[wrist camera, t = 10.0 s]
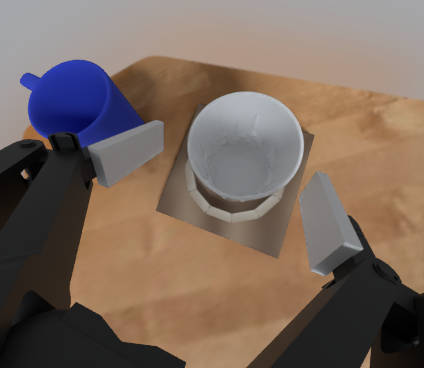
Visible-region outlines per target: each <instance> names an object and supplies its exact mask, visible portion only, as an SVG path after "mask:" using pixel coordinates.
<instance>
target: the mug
mask: <svg viewBox="0 0 424 368" xmlns="http://www.w3.org/2000/svg"><path fill="white" fill-rule="evenodd" d="M20 83H21V84H22V85H23V86H25V87H26V88H28V89H29V90H31V91H32V93H31V95H30V98H29V103H28V114H29V119H30V122H31V124H32V126H33V127H34V129H35V130H36V131H37V132H38V133H39V134H40V135H42V136H43V137H45V138H47V139H48V137H47V136H49V135H50V134H53V133H58V132H71V133H75V134H76V135H78V139H79V142H80V145H81V148H83V147H85V146H88V145H91V144H93V143H96V142H99V141H101V140H104V139H106V138H109V137H113V136H115V135H118V134H121V133H123V132H126V131H128V130H131V129H134V128H136V127H139V126H141V125H144V124H145V123H144V122H143V120H142V119H141V118H140V116H139V115H138V114H137V113H136V111H135V110H134V109H133V107H132V106H131V105H130V103H129V102H128V101H127V99H126V98H125V97H124V96H123V94H122V93H121V92H120V90H119V89H118V88H117V86H116V85H115V84H114V83H113V81H112V80H111V79H110V77H109V76H108V75H107V73H106V72H105V71H104V70H103V69H102V68H100V67H99V66H98V65H96V64H94V63H92V62H89V61H85V60H72V61H67V62H63V63H61V64H59V65H57V66H55V67H53V68H52V69H50V70H49V71H47V72H46V73H45V74H44V75H43V76H42V77H41V78H39V77H37V76H35V75H33V74H31V73H25V74H24V75H23V76H22V78H21V79H20Z"/></svg>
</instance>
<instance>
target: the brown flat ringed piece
mask: <svg viewBox="0 0 424 368" xmlns="http://www.w3.org/2000/svg"><path fill="white" fill-rule="evenodd" d="M205 107H206V105H203V104H199V105H198V108H197V110H196V112H195V115H194V117H193V120H192V122H191V125H190V127H189V130H188V132H187V135H186V137H185V140H184V142H183V145H182V147H181V150H180V152H179V154H178V157H177V159H176V162H175V164H174V167H173V169H172V172H171V174H170V177H169V179H168V182H167V184H166V187H165V189H164V192H163V194H162V196H161V199H160V201H159V204H158V206H157V209H156V211H158V212H161V213H164V214H166V215H169V216H171V217H174V218H176V219H179V220H181V221H184V222H186V223H189V224H191V225H194V226H196V227H199V228H202V229H204V230H207V231H209V232H212V233H214V234H217V235H219V236H222V237H224V238H227V239H229V240H232V241H234V242H237V243H240V244H242V245H245V246H247V247H250V248H252V249H255V250H257V251H260V252H262V253H265V254H267V255H270V256H272V257H275V258H277V259H278V256H279V253H280V250H281V246H282V243H283V240H284V236H285V233H286V230H287V226H288V223H289V219H290V216H291V213H292V209H293V206H294V203H295V199H296V196H297V193H298V189H299V186H300V182H301V179H302V176H303V172H304V169H305V166H306V162H307V159H308V156H309V152H310V149H311V145H312V142H313V139H314V135H313V134H309V133H305V132H302V134H303V139H304V152H303V157H302V161H301V164H300V166H299V168H298V170H297V172H296V173H295V175H294V176H293V178H292V179H291V180H290V181H289V182H288V183H287V184H286V185H285V186H284V187H283V188H281V189H280V190H278V191H277V192H275V193H273V194H271V195H269V196H266V197H263V198H260V199H255V200H249V201H231V200H227V199H224V198H222V197H220V196H219V195H217V194H216V193H214V192H213V191H212V190H210V189H209V188H208V187H207V186H205V185H204V184H203V183H202V182H201V181H200V179H199V178H198V177H197V175H196V174H195V172H194V171H193V169H192V166H191V164H190V161H189V157H188V150H187V143H188V136H189V132H190V129H191V126H192V124H193V122H194V120H195V118H196V117H197V116H198V114H199V113H200V112H201V111H202V110H203V109H204V108H205Z"/></svg>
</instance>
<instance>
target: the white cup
mask: <svg viewBox="0 0 424 368" xmlns="http://www.w3.org/2000/svg"><path fill="white" fill-rule="evenodd" d="M187 150H188V157H189V161H190V164H191V166H192V169H193V171H194V172H195V174H196V175H197V177H198V178H199V179H200V181H201V182H202V183H203V184H204V185H205V186H207V187H208V188H209V189H210V190H212V191H213V192H214V193H216V194H217V195H219V196H220V197H222V198H224V199H227V200H231V201H249V200H255V199H260V198H263V197H266V196H269V195H271V194H273V193H275V192H277V191H278V190H280V189H281V188H283V187H284V186H285V185H286V184H287V183H288V182H289V181H290V180H291V179H292V178H293V176H294V175H295V173H296V172H297V170H298V168H299V166H300V164H301V161H302V157H303V152H304V139H303V134H302V130H301V127H300V125H299V123H298V121H297V119H296V117H295V116H294V114H293V113H292V112H291V111H290V110H289V109H288V108H287V107H286V106H285V105H284V104H283V103H281V102H280V101H278V100H277V99H275V98H273V97H271V96H268V95H265V94H262V93H258V92H250V91H243V92H234V93H230V94H227V95H224V96H221V97H219V98H217V99H215V100H214V101H212V102H211V103H209V104H208V105H207V106H206V107H205V108H204V109H203V110H202V111H201V112H200V113H199V114H198V116H197V117H196V118H195V120H194V122H193V124H192V126H191V129H190V132H189V136H188V143H187Z"/></svg>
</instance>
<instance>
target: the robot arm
mask: <svg viewBox="0 0 424 368" xmlns="http://www.w3.org/2000/svg"><path fill="white" fill-rule="evenodd" d="M47 137H48V139H49V142H50V144H51V146H52V148H53V150H51V149H46V147H45V145H44V143H43V142H42V141H40V140H32V139H25V140H22V141H18V142H15V143H13V144H11V145H9V146H7V147H5V148H4V149H2V150H0V368H185V365H186V362H185V361H183V360H181V359H179V358H177V357H175V356H174V355H172V354H170V353H168V352H166V351H164V350H163V349H161V348H159V347H157V346H151V345H143V344H135V343H127V342H122V341H121V340H120V339H119V338H118V337H117V335H116V334H115V333H114V332H113V330H112V329H111V328H110V327H109V325H108V324H107V323H106V322H105V320H104V319H103V318H102V316H101V315H99V314H97V313H95V312H93V311H92V310H90V309H88V308H86V307H84V306H83V305H81V304H79V303H77V302H76V303H75V304H74V305H73V306H72V307H71V308H70V304H71V296H70V281H71V277H72V272H73V268H74V264H75V259H76V255H77V251H78V247H79V242H80V238H81V234H82V229H83V225H84V221H85V217H86V212H87V208H88V204H89V199H90V195H91V191H92V187H93V181H92V179H94V178H95V177H97V180H98V183H99V184H100V185H102V186H105V187H107V188H109V187H111V186H112V185H113V184H115V183H116V182H118V181H119V180H121V179H122V178H124V177H125V176H127V175H128V174H130V173H131V172H133V171H134V170H136V169H137V168H138V167H140V166H141V165H143V164H144V163H146V162H147V161H149V160H150V159H152V158H153V157H155V156H156V155H158V154H159V153H161V152H162V151H164V122H162V121H158V120H154V121H152V122H149V123H146V124H144V125H141V126H139V127H136V128H134V129H131V130H128V131H126V132H123V133H121V134H118V135H115V136H113V137H109V138H106V139H104V140H101V141H99V142H96V143H93V144H91V145H88V146H85V147H83V148H81V145H80V142H79V139H78V135H76V134H75V133H71V132H58V133H53V134H50V135H49V136H47ZM24 169H25V171H26V173H27V174H28V176H29V177H28V178H27V179H24V178H23V176H22V175H21V172H22V171H23V170H24ZM298 198H299V204H300V210H301V216H302V222H303V228H304V234H305V240H306V246H307V252H308V258H309V264H310V270H311V271H313V272H316V273H318V274H321V275H323V276H326V275H328V274H329V273H330V272H332V271H333V275H334V278H335V279H333V280H332V281H330V282H329V283H327V284H325V285H324V286H322V288H323V289H322V290H321V291H320V292H319V293H318V294H317V295H316V297H315V298H314V299H313V300H312V301H311V302H310V303H309V304H308V305H307V306H306V307H305V308H304V309H303V310H302V311H301V312H300V313H299V314H298V315H297V316H296V317H295V318H294V319H293V320H292V321H291V322H290V323H289V324H288V325H287V326H286V327H285V328H284V329H283V330H282V331H281V332H280V334H279V335H278V336H277V337H276V338H275V339H274V340H273V341H272V342H271V343H270V344H269V345H268V346H267V347H266V348H265V349H264V350H263V351H262V352H261V353H260V354H259V355H258V356H257V357H256V358H255V359H254V360H253V361H252V362H251V363H250V364H249V365H248V366H247V367H246V368H360V367H361V365H362V363H363V361H364V359H365V357H366V355H367V353H368V351H369V349H370V347H371V357H370V368H424V293H422V294H418V293H417V292H415V291H413V290H412V289H410V288H408V287H407V286H405V285H404V284H402V282H401V279H400V277H399V276H398V274H397V273H396V272H395V271H394V270H393V269H392V268H391V267H390V266H389V265H388V264H386V263H385V262H383V261H382V260H380V259H378V258H376V257H375V255H374V253H373V251H372V249H371V247H370V246H369V244H368V242H367V240H366V238H364V237H365V236H364V234H363V232H361V231H362V230H361V229H360V227H359V225H358V223H357V222H356V221H355V220H354V219H353V218H352V217H351V216H349V215H347V214H346V212H345V210H344V208H343V206H342V204H341V202H340V199H339V197H338V195H337V193H336V191H335V189H334V187H333V185H332V183H331V181H330V179H329V177H328V175H327V174H325V173H322V172H318V171H317V172H316V173H315V174H314V176H313V177H312V179H311V180H310V181H309V183H308V184H307V186H306V187H305V189H304V190H303V191H302V193H301V194H300V196H299V197H298Z"/></svg>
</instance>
